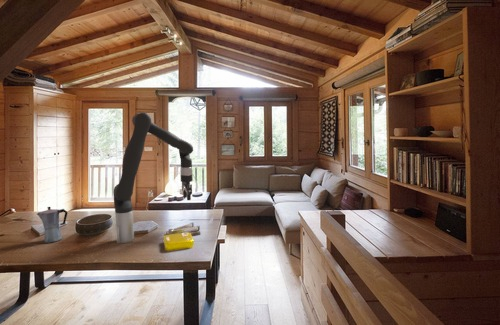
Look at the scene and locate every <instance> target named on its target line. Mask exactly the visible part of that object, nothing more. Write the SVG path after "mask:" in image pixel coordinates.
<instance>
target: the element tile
mask: <svg viewBox="0 0 500 325" xmlns="http://www.w3.org/2000/svg"><path fill="white" fill-rule="evenodd" d="M194 245H195V244H194V238H193V236H191V234H190V233H189V232H186V233H177V234H169V235H167V234H165V235H164V236H163V246H164V251H166V252H172V251H179V250H186V249H193V248H194Z"/></svg>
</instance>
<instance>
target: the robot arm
mask: <svg viewBox="0 0 500 325" xmlns="http://www.w3.org/2000/svg"><path fill="white" fill-rule="evenodd" d="M131 122H132V124H133V132H132V135H131V138H130V139H129V141H128V143H127V146H126V148H125V150H124V154H123V158H122V165H121V166H122V167H121V176H120V180H119V183H118V184H116V186H115V187H114V188H113V192H112V193H113V207H114V214H115V238H116V239H115V240H116V244H125V243H130V242H133V241H134V240H135V232H134V231H135V230H134V229H135V228H134V211H133V208H134V207H133V204H132V203H133V202H132V196H133V194H134V187H135V186H134V185H135V180H136V177H137V174H138V172H139V171H138V170H139V167H140V165H141V160H142V157H143V153H144V148H145V142H146V138H147V136H148V134H151V135H152V136H153V137H156V138H158V139H159V140H161V141H162V142H163V143H166V144H167V145H168V146H170V147H172V148H173V149H174V148H175V149H177V150H178V154H179V159H180V182H181V190H182V192H183V193H182V197H183V199H187V201H191V200H192V199H191V198H192V197H191V195H192V194H193V187H192V186H193V185H192V184H191V182H193V164H192V163H193V160H192V158H191V154H193V151H194V147H193V145H192V144H191V143H189V142H188V141H186V140H184V139H181V138H180V137H178V136H177V135H176V134H174V133H172V132H171V131H169V130H166V129H165V128H163V127H161V126H158V124H155V123H154V122H153V121H152V118H151V116H150V115H149V114H148V113H146V112H139V113H136V114H134V115H133V117H132V120H131Z"/></svg>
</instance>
